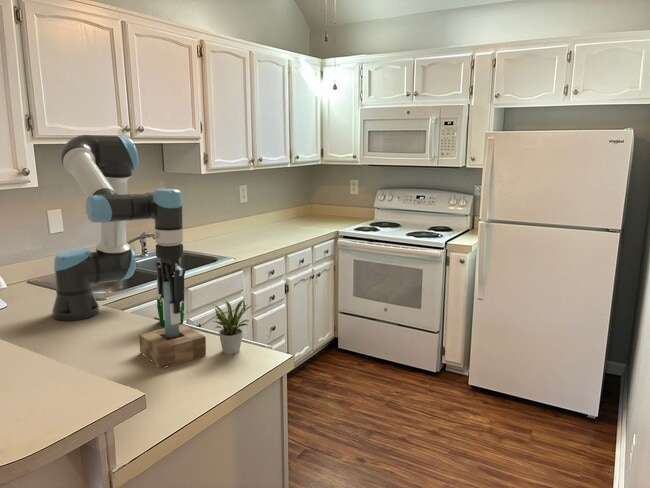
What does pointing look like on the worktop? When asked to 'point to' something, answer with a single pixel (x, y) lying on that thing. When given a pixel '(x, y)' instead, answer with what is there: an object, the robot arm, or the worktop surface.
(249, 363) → the worktop surface
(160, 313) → the milk carton
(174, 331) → the peg
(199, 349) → the socket block
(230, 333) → the house plant
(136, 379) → the worktop surface
